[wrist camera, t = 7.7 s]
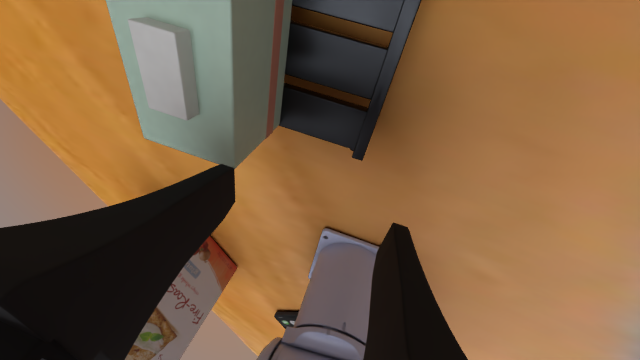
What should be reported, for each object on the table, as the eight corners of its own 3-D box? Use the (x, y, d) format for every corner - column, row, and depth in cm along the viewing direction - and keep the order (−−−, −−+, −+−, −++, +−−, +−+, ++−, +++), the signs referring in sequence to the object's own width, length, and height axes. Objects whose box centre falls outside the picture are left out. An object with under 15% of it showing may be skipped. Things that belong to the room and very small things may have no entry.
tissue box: (280, 124, 16) (226, 179, 12) (210, 102, 17) (130, 145, 12) (297, -35, 11) (214, -55, 7) (197, -60, 12) (51, -97, 7)
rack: (369, 135, 19) (357, 176, 15) (174, 73, 21) (112, 94, 16) (432, -40, 13) (444, -56, 8) (145, -108, 14) (32, -151, 10)
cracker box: (241, 266, 35) (98, 498, 19) (212, 268, 38) (65, 472, 22) (172, 187, 29) (-122, 428, 13) (144, 197, 32) (-128, 405, 16)
